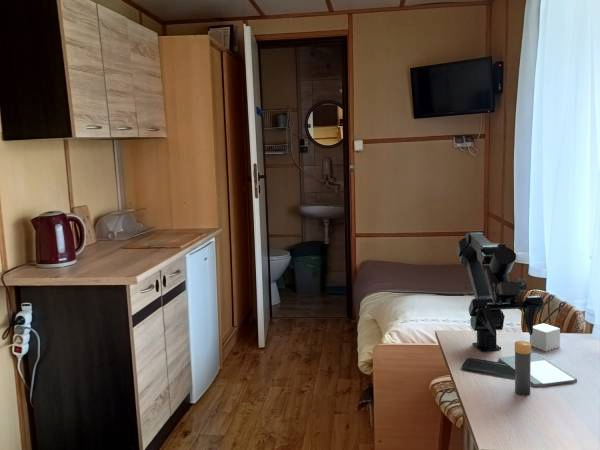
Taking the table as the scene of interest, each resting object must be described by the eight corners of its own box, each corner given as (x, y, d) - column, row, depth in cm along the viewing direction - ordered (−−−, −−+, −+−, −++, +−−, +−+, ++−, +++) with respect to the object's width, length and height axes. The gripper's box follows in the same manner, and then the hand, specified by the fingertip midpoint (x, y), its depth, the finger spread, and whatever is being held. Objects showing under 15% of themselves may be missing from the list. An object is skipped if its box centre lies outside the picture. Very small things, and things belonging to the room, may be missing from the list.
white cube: (529, 345, 164) (529, 326, 163) (543, 341, 166) (543, 323, 166) (546, 351, 159) (546, 332, 158) (559, 347, 161) (560, 328, 160)
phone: (467, 357, 156) (522, 365, 148) (467, 361, 156) (522, 369, 148) (460, 367, 149) (516, 376, 141) (460, 371, 149) (516, 380, 141)
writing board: (498, 360, 154) (498, 357, 154) (536, 355, 156) (536, 352, 156) (535, 387, 136) (535, 384, 136) (578, 382, 138) (578, 379, 137)
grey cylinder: (511, 390, 135) (511, 341, 134) (525, 388, 136) (525, 340, 134) (519, 396, 132) (519, 347, 130) (533, 395, 132) (534, 345, 130)
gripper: (470, 269, 142) (483, 322, 133) (541, 266, 141) (559, 319, 132) (463, 290, 151) (475, 341, 141) (530, 287, 150) (546, 338, 140)
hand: (513, 335), depth 139 cm, fingers open, 9 cm apart
